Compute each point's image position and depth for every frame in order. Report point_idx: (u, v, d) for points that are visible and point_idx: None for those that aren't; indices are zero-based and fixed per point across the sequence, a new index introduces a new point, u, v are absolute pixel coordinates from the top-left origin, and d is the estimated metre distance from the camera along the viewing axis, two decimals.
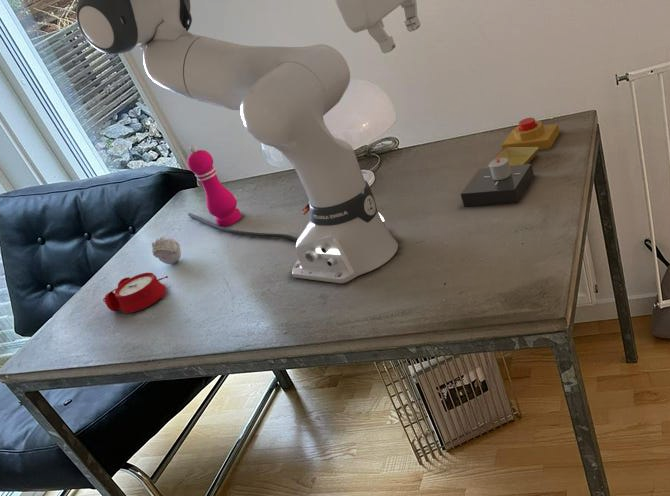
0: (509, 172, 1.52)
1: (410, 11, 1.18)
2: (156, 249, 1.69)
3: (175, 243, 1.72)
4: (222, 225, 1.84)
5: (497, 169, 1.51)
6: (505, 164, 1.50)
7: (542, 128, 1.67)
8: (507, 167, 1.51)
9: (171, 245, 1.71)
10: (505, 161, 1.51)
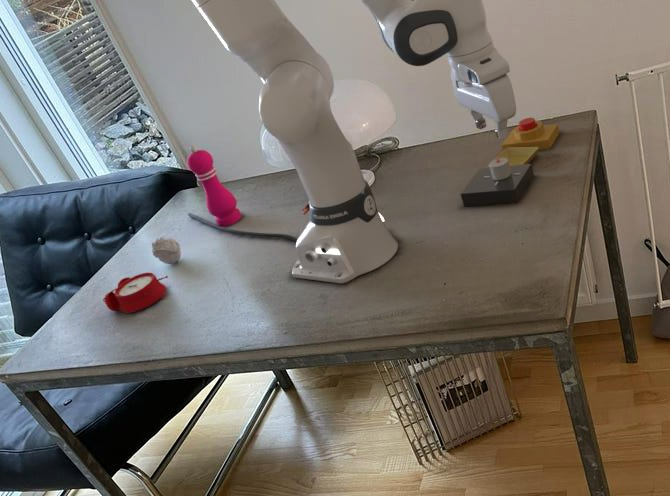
0: (509, 172, 1.52)
1: (477, 114, 1.51)
2: (156, 249, 1.69)
3: (175, 243, 1.72)
4: (222, 225, 1.84)
5: (497, 169, 1.51)
6: (505, 164, 1.50)
7: (542, 128, 1.67)
8: (507, 167, 1.51)
9: (171, 245, 1.71)
10: (505, 161, 1.51)
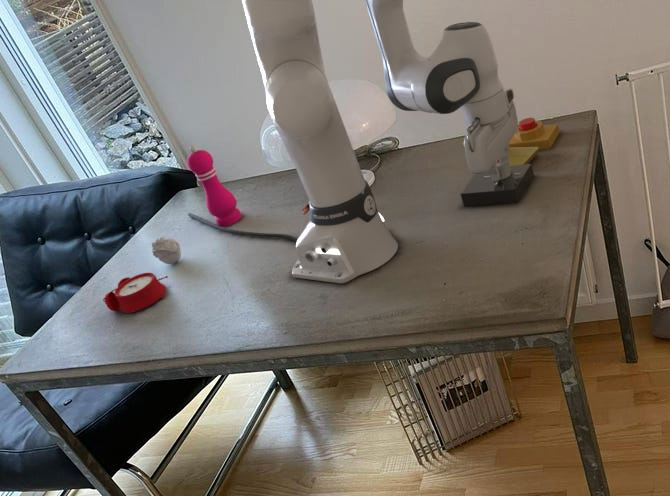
0: (509, 172, 1.52)
1: None
2: (156, 249, 1.69)
3: (175, 243, 1.72)
4: (222, 225, 1.84)
5: None
6: (505, 164, 1.50)
7: (542, 128, 1.67)
8: (507, 167, 1.51)
9: (171, 245, 1.71)
10: (505, 161, 1.51)
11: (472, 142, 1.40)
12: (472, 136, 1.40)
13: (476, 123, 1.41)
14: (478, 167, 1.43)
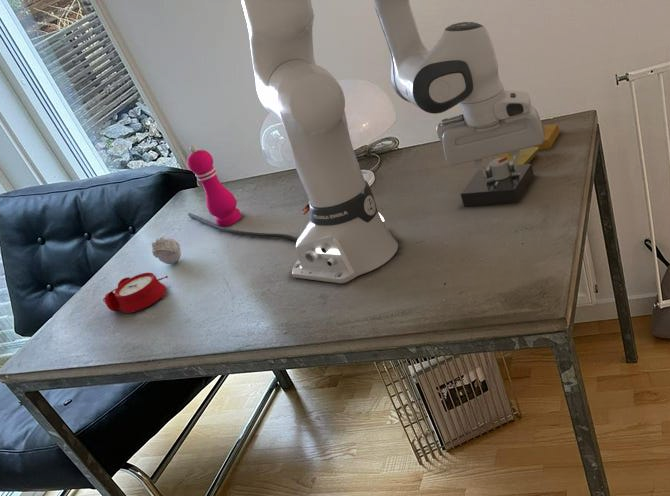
0: (499, 176, 1.52)
1: (482, 165, 1.52)
2: (156, 249, 1.69)
3: (175, 243, 1.72)
4: (222, 225, 1.84)
5: None
6: (494, 167, 1.51)
7: None
8: (496, 171, 1.51)
9: (171, 245, 1.71)
10: (498, 165, 1.50)
11: (441, 134, 1.48)
12: (443, 129, 1.48)
13: (455, 119, 1.46)
14: None
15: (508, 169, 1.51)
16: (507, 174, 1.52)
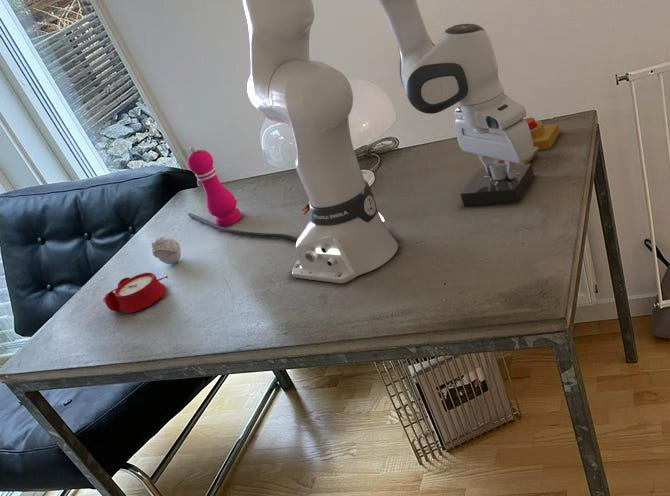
0: (493, 176, 1.53)
1: (488, 160, 1.55)
2: (156, 249, 1.69)
3: (175, 243, 1.72)
4: (222, 225, 1.84)
5: None
6: (489, 166, 1.52)
7: (542, 128, 1.67)
8: (490, 170, 1.52)
9: (171, 245, 1.71)
10: (493, 165, 1.51)
11: None
12: (458, 115, 1.53)
13: None
14: None
15: (502, 172, 1.51)
16: (499, 177, 1.52)
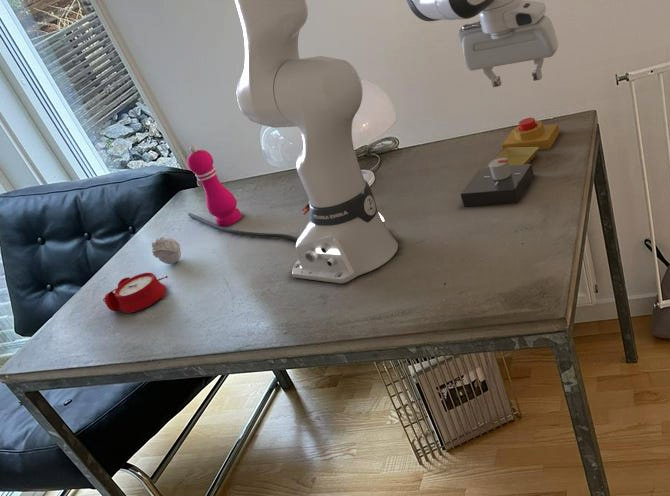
0: (493, 176, 1.53)
1: (492, 74, 1.62)
2: (156, 249, 1.69)
3: (175, 243, 1.72)
4: (222, 225, 1.84)
5: None
6: (489, 166, 1.52)
7: (542, 128, 1.67)
8: (490, 170, 1.52)
9: (171, 245, 1.71)
10: (493, 165, 1.51)
11: (462, 38, 1.58)
12: (463, 33, 1.58)
13: (474, 25, 1.55)
14: None
15: (502, 172, 1.51)
16: (499, 177, 1.52)
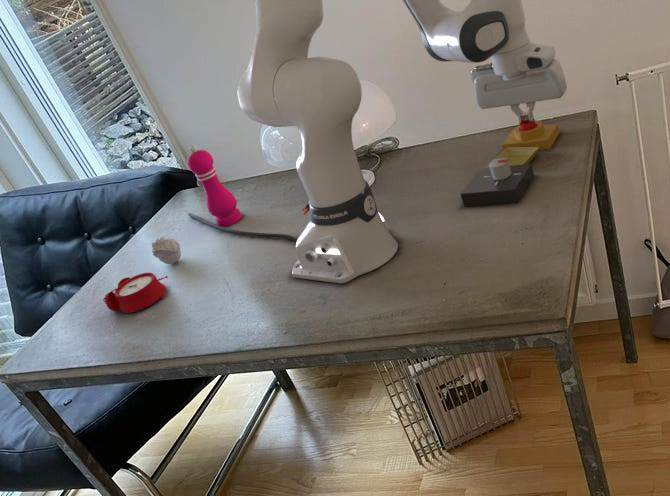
0: (493, 176, 1.53)
1: (519, 110, 1.66)
2: (156, 249, 1.69)
3: (175, 243, 1.72)
4: (222, 225, 1.84)
5: None
6: (489, 166, 1.52)
7: (542, 128, 1.67)
8: (490, 170, 1.52)
9: (171, 245, 1.71)
10: (493, 165, 1.51)
11: (474, 79, 1.65)
12: (476, 74, 1.64)
13: (486, 67, 1.62)
14: None
15: (502, 172, 1.51)
16: (499, 177, 1.52)
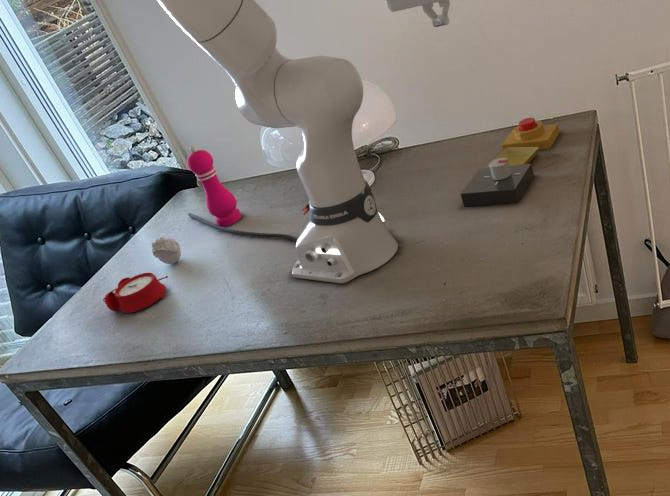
0: (493, 176, 1.53)
1: (432, 12, 1.49)
2: (156, 249, 1.69)
3: (175, 243, 1.72)
4: (222, 225, 1.84)
5: None
6: (489, 166, 1.52)
7: (542, 128, 1.67)
8: (490, 170, 1.52)
9: (171, 245, 1.71)
10: (493, 165, 1.51)
11: None
12: None
13: None
14: None
15: (502, 172, 1.51)
16: (499, 177, 1.52)
